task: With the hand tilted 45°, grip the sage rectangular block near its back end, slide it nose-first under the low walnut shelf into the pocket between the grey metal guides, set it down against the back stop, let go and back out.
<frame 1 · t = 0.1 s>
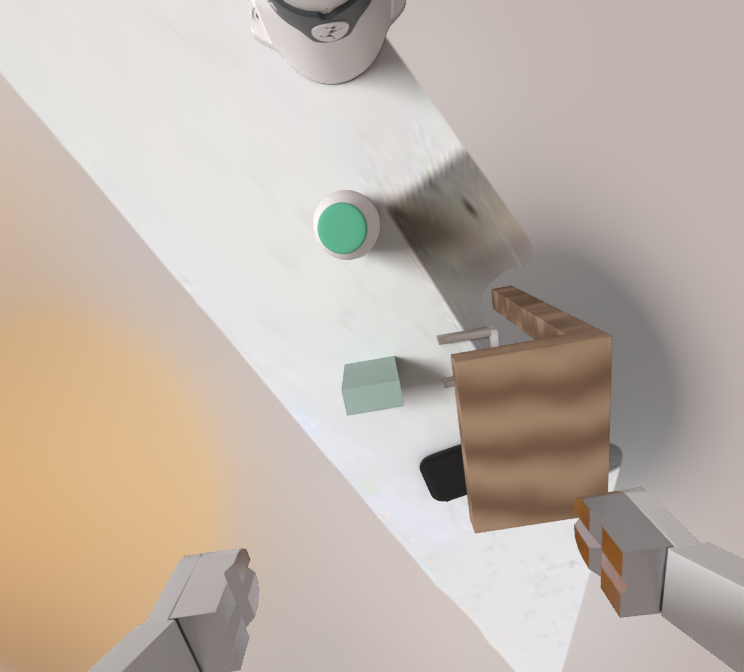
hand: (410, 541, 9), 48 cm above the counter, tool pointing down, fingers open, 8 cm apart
milk bottle: (350, 223, 53), on the counter
sage rectangular block: (371, 371, 60), on the counter
carrying case or bag: (464, 464, 67), on the counter
walnut overhang shelf: (452, 358, 59), on the counter
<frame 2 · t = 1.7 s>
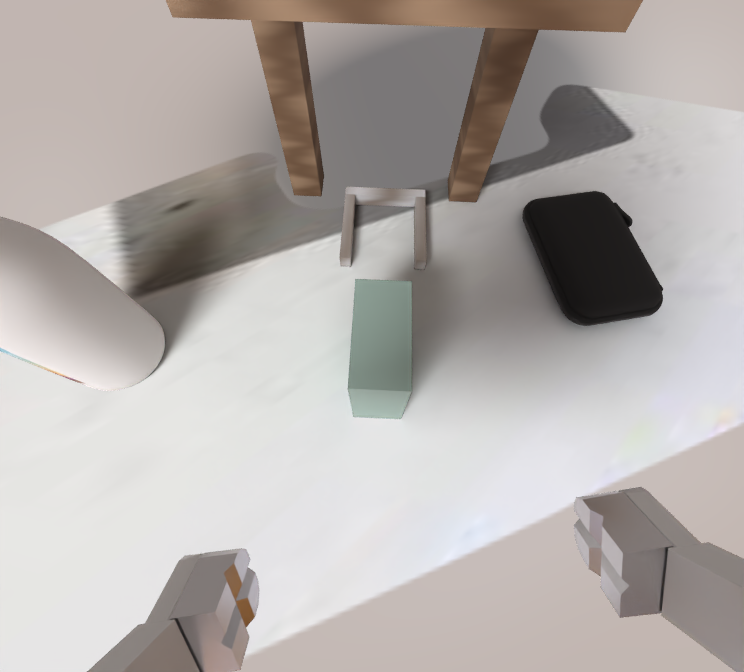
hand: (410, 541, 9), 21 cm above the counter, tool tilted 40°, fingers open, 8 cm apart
milk bottle: (125, 352, 34), on the counter
sage rectangular block: (378, 372, 33), on the counter
carrying case or bag: (584, 263, 39), on the counter
walnut overhang shelf: (383, 251, 38), on the counter
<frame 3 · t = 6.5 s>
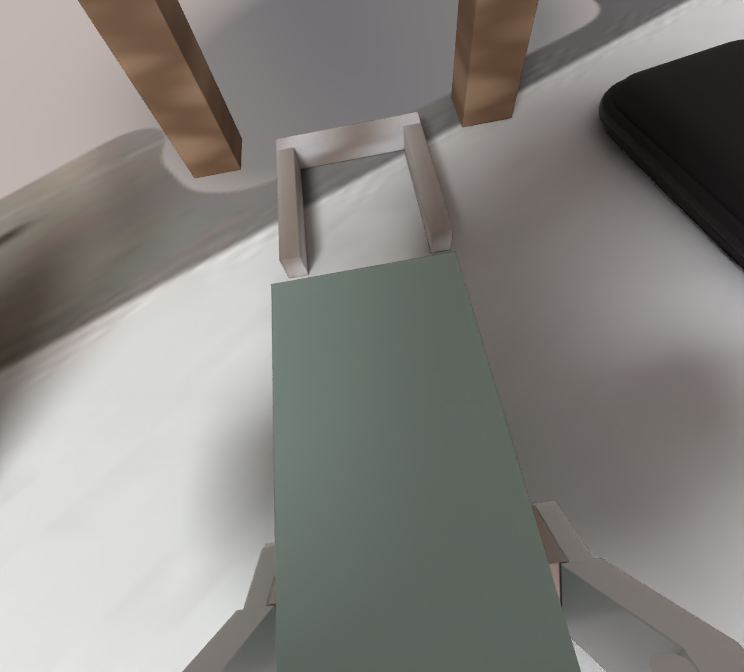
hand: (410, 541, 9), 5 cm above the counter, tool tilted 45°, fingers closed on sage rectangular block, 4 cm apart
sage rectangular block: (406, 494, 14), on the counter, touching gripper
walnut overhang shelf: (364, 234, 20), on the counter
when the fingers open (6 cm above the counter, at t = 11.1 s): sage rectangular block drops 1 cm, on the counter.
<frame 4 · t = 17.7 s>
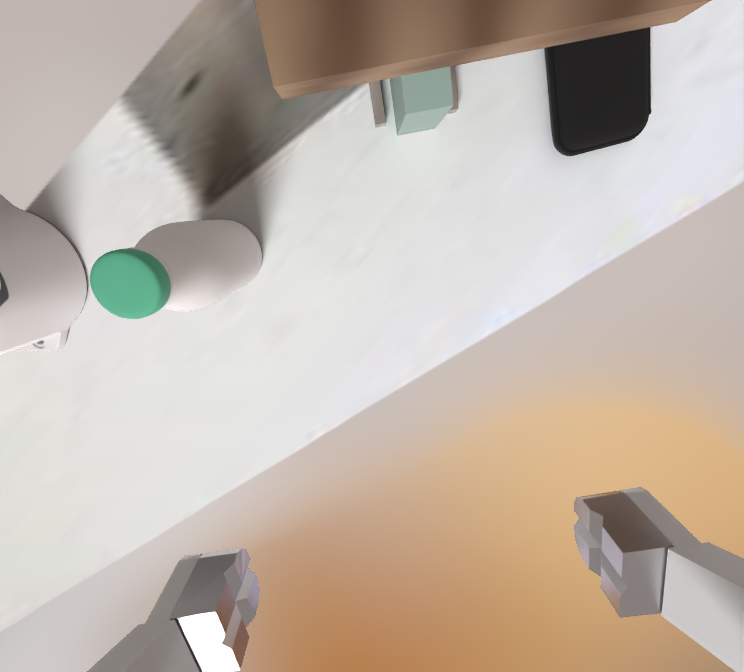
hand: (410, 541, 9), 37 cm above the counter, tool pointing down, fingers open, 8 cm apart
milk bottle: (230, 253, 43), on the counter
sage rectangular block: (410, 89, 38), on the counter
carrying case or bag: (592, 73, 39), on the counter
walnut overhang shelf: (412, 98, 39), on the counter
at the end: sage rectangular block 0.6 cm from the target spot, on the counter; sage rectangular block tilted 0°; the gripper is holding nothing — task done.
